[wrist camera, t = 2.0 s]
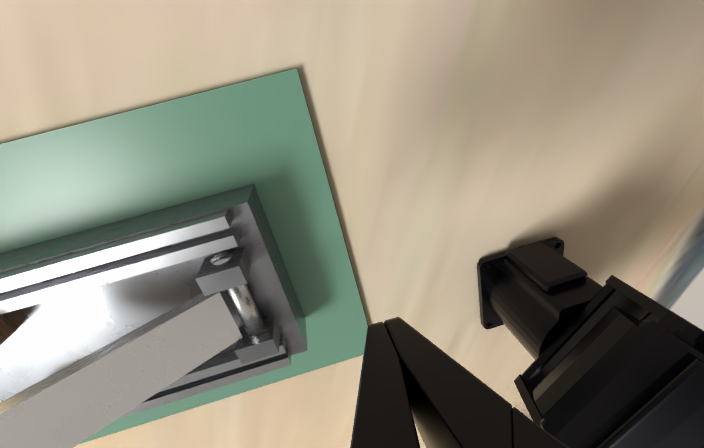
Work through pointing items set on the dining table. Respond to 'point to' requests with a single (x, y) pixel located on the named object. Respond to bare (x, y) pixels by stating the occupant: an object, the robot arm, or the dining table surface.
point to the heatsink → (150, 292)
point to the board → (193, 183)
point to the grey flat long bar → (117, 376)
